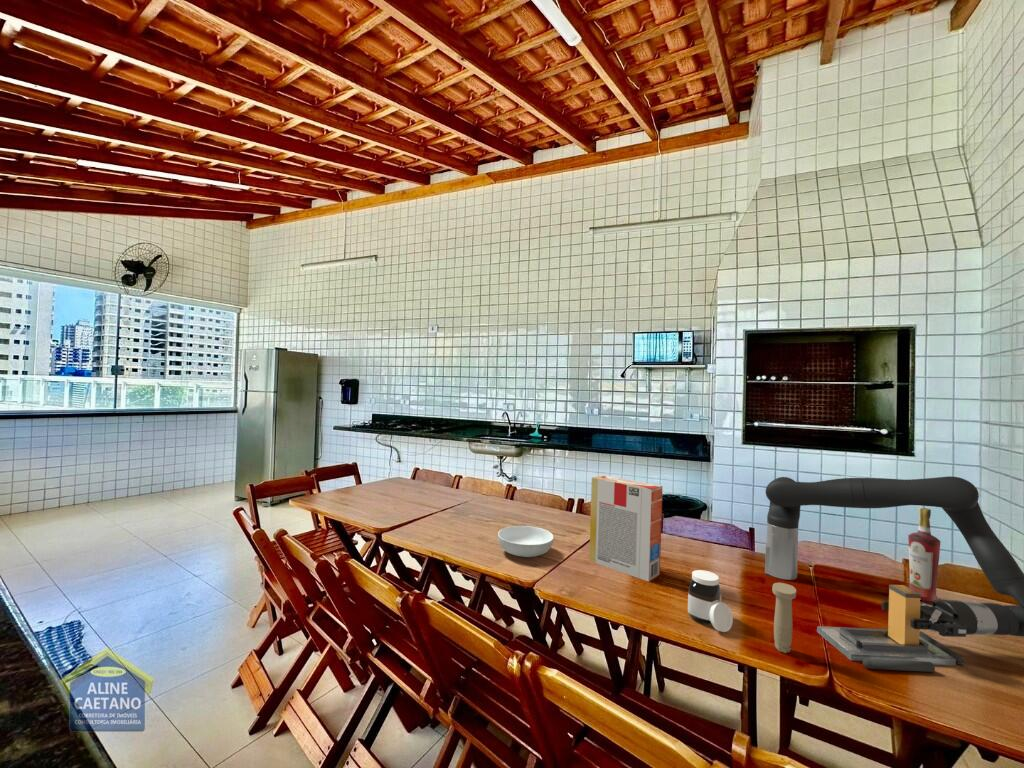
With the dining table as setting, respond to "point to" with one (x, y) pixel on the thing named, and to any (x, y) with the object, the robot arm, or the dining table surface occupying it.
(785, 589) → the handle
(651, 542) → the cereal box
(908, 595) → the tan wooden block
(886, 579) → the dining table surface
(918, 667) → the grey rounded rod
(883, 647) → the panel
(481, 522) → the dining table surface
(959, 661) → the dark grey rounded bar
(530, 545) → the serving bowl
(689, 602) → the spread jar
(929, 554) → the liquor
